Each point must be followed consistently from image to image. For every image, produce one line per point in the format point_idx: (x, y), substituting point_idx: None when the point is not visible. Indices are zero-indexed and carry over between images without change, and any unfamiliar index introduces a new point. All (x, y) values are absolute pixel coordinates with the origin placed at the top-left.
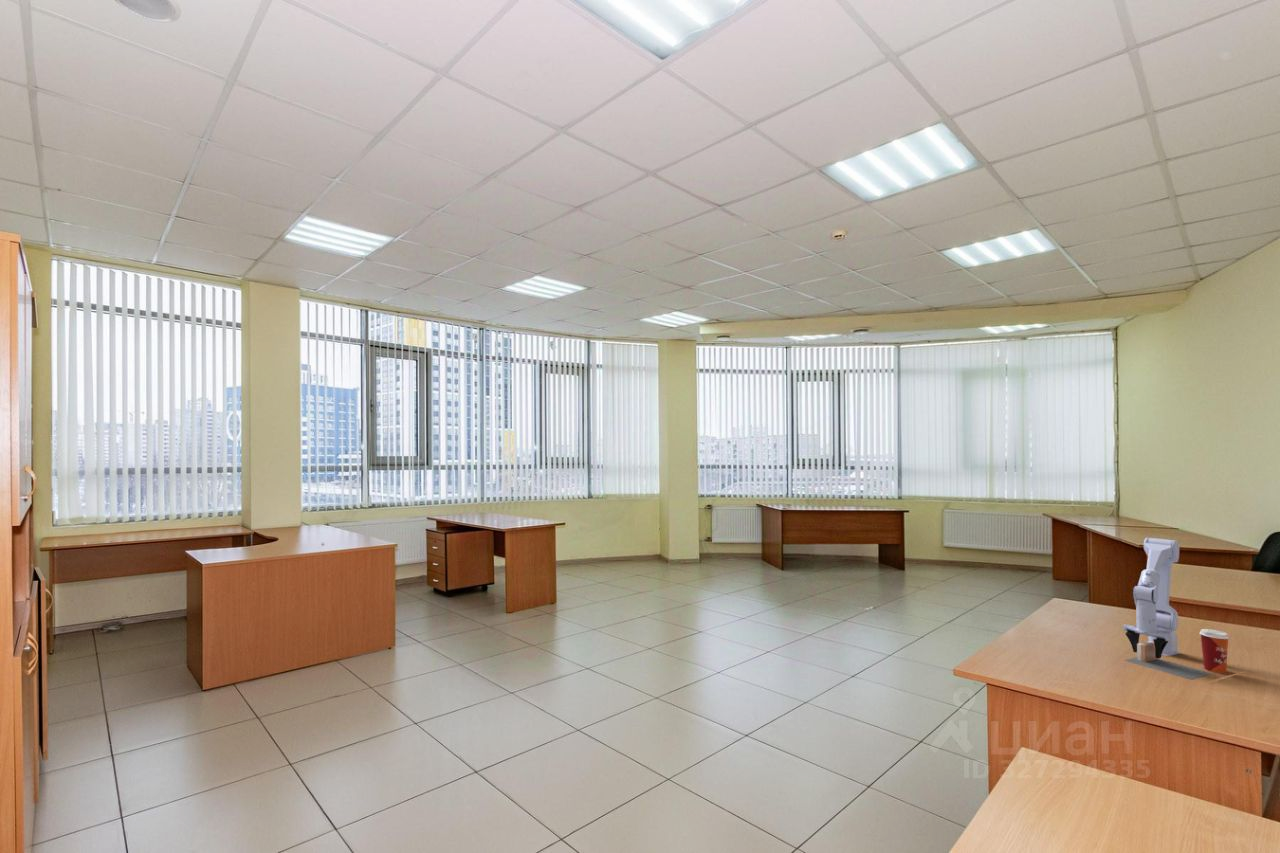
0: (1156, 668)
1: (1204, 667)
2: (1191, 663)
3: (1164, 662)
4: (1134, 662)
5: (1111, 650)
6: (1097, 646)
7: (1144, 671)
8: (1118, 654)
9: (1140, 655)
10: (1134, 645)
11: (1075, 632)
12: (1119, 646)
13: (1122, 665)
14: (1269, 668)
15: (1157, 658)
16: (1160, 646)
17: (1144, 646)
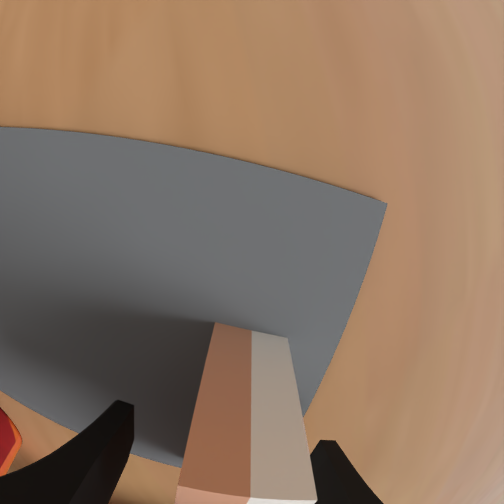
0: (82, 171)
1: (3, 423)
2: None
3: None
4: (289, 201)
5: (445, 421)
6: (491, 415)
7: (158, 8)
8: (421, 383)
9: (257, 368)
10: (341, 494)
11: (497, 477)
12: (391, 497)
13: (352, 30)
14: None
15: None
16: (10, 477)
17: (183, 472)
